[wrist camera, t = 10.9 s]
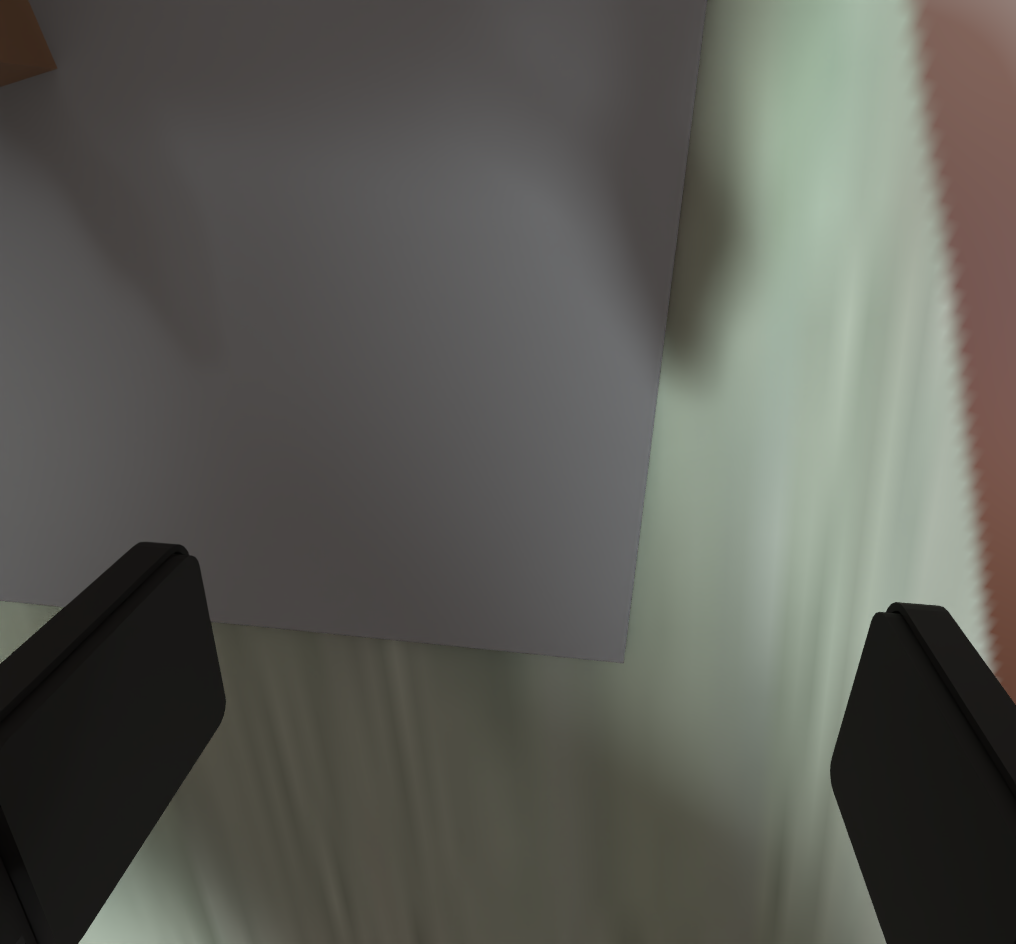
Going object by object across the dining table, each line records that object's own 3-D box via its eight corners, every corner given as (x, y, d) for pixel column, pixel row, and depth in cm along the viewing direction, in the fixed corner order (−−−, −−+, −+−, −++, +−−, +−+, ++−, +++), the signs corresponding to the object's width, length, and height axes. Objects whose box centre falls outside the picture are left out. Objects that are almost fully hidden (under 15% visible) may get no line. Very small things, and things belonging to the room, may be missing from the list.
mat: (746, -336, 9) (751, -350, 9) (623, 654, 16) (623, 662, 16) (-804, -297, 11) (-838, -307, 11) (-326, 559, 18) (-340, 566, 18)
